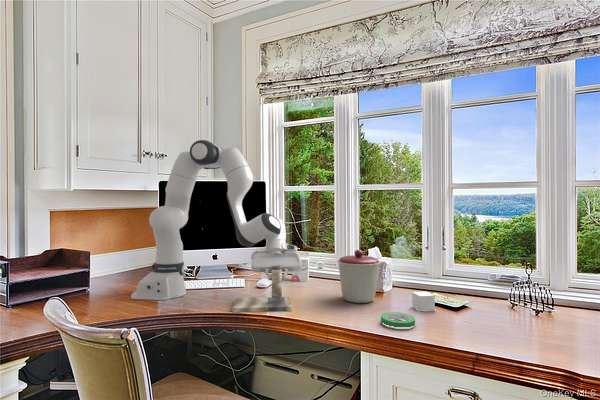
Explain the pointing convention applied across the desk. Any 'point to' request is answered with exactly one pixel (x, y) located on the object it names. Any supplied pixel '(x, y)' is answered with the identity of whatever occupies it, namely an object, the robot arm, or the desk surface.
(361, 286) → the canister
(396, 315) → the tape roll
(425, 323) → the desk surface
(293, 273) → the ink cartridge box
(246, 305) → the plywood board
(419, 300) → the adhesive note
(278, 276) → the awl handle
